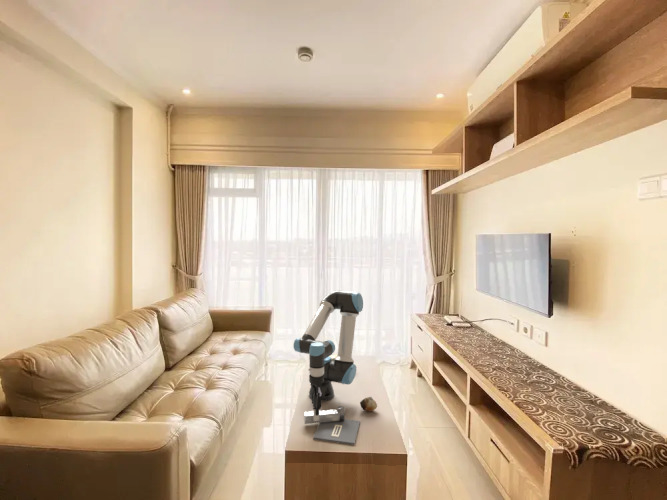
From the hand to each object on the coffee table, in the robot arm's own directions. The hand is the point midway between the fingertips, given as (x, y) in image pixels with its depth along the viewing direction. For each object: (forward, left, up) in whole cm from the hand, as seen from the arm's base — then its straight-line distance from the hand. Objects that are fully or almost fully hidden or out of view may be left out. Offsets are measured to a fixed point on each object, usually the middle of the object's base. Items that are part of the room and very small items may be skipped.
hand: (316, 420), depth 173 cm
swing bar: (-5, +3, -2) cm, 6 cm away
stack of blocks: (-72, -4, -4) cm, 72 cm away
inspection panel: (0, +11, -4) cm, 12 cm away
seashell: (-23, +24, -4) cm, 34 cm away
